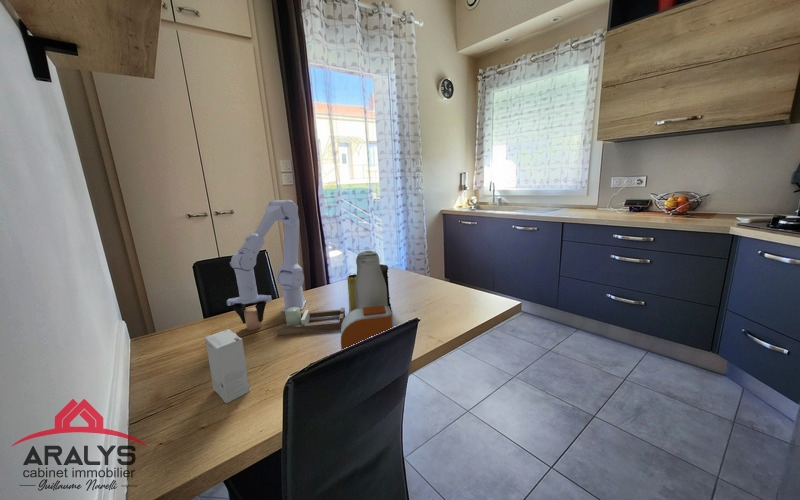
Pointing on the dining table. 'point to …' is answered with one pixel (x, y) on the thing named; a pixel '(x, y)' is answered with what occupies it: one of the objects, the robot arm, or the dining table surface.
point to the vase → (351, 292)
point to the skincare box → (227, 365)
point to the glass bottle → (369, 281)
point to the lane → (316, 326)
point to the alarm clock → (364, 324)
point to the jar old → (293, 316)
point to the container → (386, 281)
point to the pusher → (307, 318)
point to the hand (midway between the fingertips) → (253, 321)
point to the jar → (252, 319)
